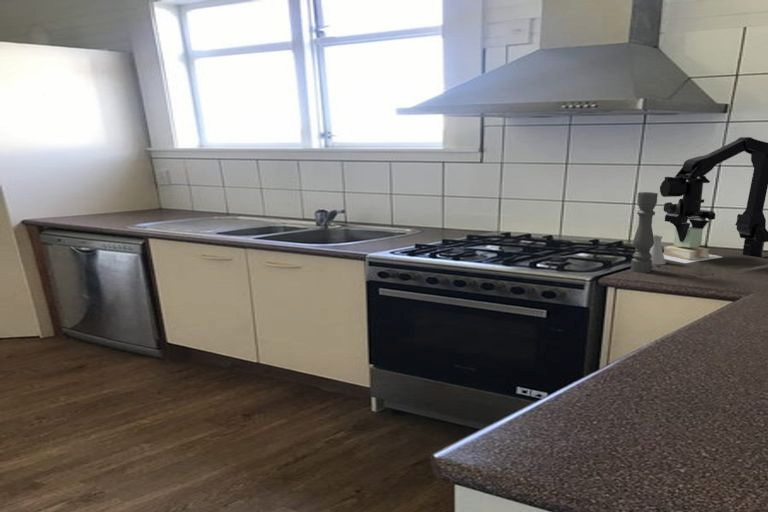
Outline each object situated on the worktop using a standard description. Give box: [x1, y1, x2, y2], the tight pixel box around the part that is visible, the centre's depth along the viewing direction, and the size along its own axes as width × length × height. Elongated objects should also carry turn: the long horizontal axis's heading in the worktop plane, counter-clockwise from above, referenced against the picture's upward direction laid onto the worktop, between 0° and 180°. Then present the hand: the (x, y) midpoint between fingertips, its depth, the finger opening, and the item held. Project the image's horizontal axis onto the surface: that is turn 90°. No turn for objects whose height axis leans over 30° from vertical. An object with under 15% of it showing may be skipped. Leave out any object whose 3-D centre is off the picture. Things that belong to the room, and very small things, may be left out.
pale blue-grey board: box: [663, 252, 722, 264], centre depth 193 cm, size 20×14×1 cm
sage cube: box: [673, 226, 704, 248], centre depth 191 cm, size 6×6×6 cm
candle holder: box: [630, 191, 659, 273], centre depth 176 cm, size 6×6×25 cm
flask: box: [649, 234, 667, 268], centre depth 184 cm, size 7×7×10 cm
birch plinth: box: [663, 244, 711, 260], centre depth 193 cm, size 10×10×3 cm
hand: (687, 240), depth 192 cm, fingers closed on sage cube, 6 cm apart
